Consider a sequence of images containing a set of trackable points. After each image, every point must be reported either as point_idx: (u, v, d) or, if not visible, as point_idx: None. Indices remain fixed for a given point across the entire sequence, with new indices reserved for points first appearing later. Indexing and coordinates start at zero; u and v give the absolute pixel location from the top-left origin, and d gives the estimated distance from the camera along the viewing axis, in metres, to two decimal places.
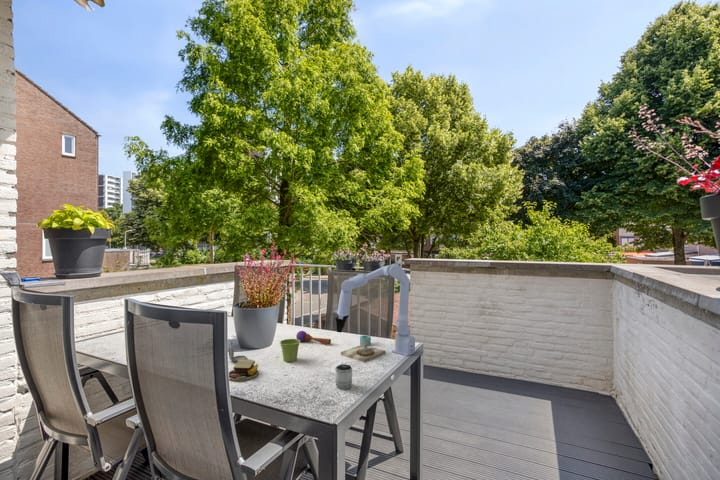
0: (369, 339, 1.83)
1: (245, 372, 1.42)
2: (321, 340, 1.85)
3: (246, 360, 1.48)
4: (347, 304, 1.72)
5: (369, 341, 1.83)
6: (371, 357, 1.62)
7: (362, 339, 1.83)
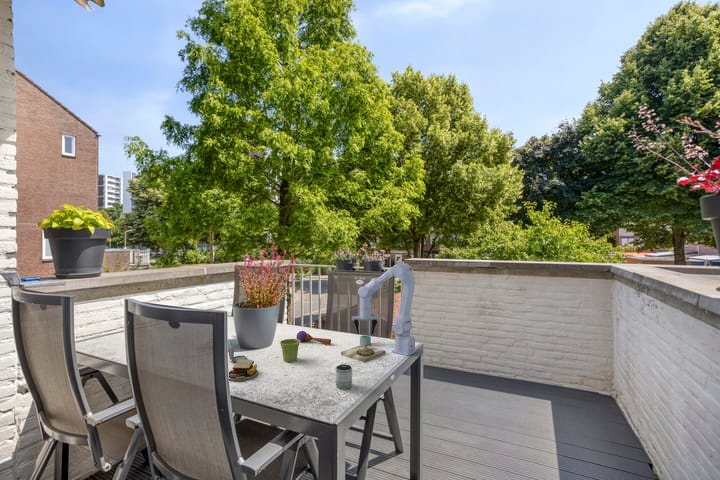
0: (369, 339, 1.83)
1: (244, 372, 1.42)
2: (321, 340, 1.85)
3: (245, 360, 1.48)
4: (365, 309, 1.82)
5: (369, 341, 1.83)
6: (371, 357, 1.62)
7: (362, 339, 1.83)
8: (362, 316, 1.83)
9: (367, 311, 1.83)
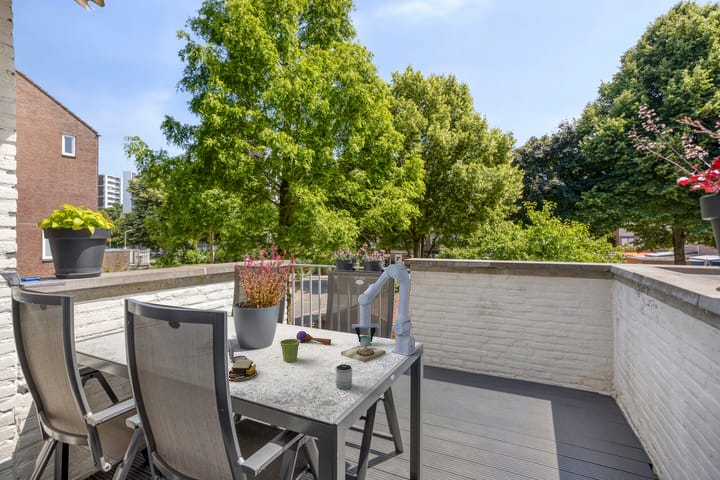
0: (369, 339, 1.83)
1: (243, 372, 1.42)
2: (321, 340, 1.85)
3: (244, 360, 1.48)
4: (365, 317, 1.82)
5: (369, 341, 1.83)
6: (371, 357, 1.62)
7: (362, 339, 1.83)
8: (362, 324, 1.83)
9: (367, 319, 1.83)
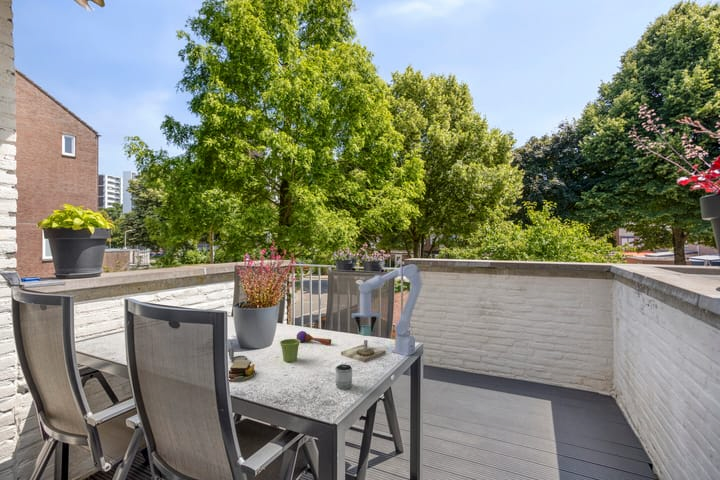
0: (369, 329, 1.77)
1: (242, 372, 1.42)
2: (321, 340, 1.85)
3: (242, 360, 1.47)
4: (367, 305, 1.76)
5: (369, 331, 1.77)
6: (371, 357, 1.62)
7: (362, 329, 1.76)
8: (362, 313, 1.76)
9: (367, 308, 1.76)
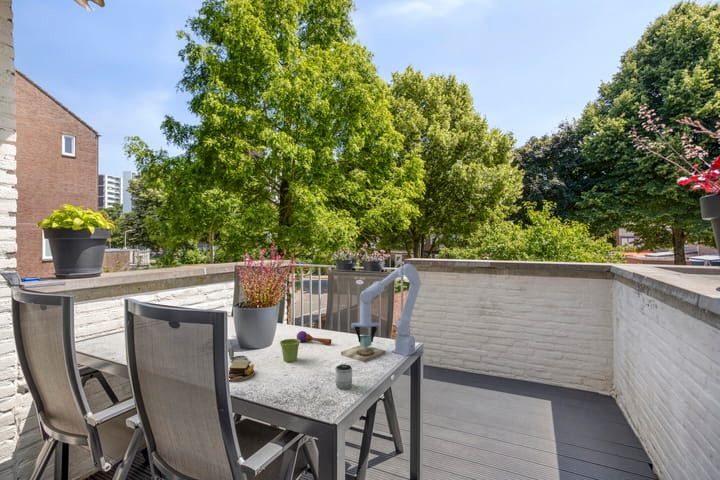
0: (370, 339, 1.71)
1: (241, 372, 1.42)
2: (322, 340, 1.85)
3: (241, 360, 1.47)
4: (369, 315, 1.71)
5: (370, 341, 1.71)
6: (371, 357, 1.62)
7: (362, 339, 1.71)
8: (362, 323, 1.71)
9: (367, 317, 1.71)
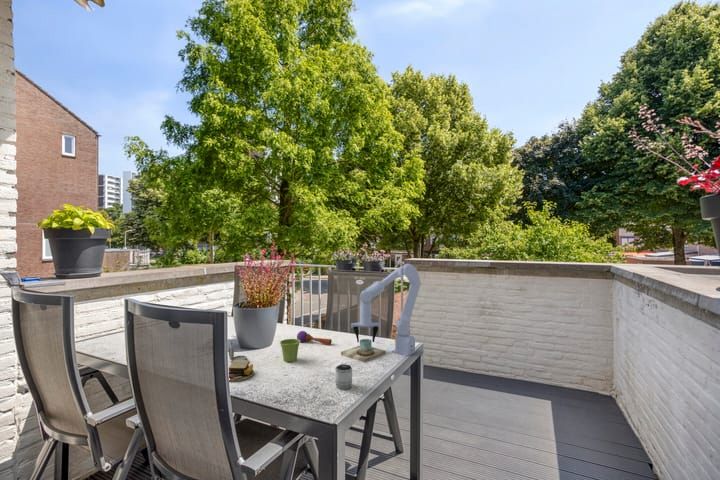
0: (370, 343, 1.71)
1: (241, 372, 1.42)
2: (322, 340, 1.85)
3: (241, 360, 1.47)
4: (369, 315, 1.71)
5: (370, 345, 1.71)
6: (371, 357, 1.62)
7: (362, 343, 1.71)
8: (362, 323, 1.71)
9: (367, 317, 1.71)
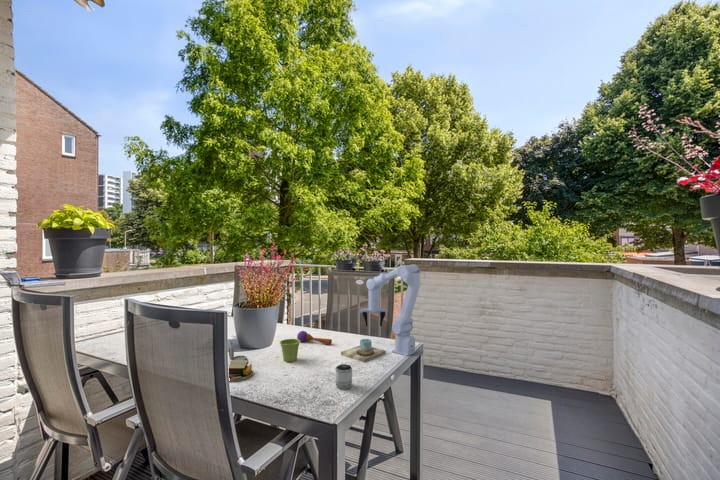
0: (370, 343, 1.71)
1: (239, 372, 1.42)
2: (322, 340, 1.85)
3: (239, 360, 1.47)
4: (373, 301, 1.84)
5: (370, 345, 1.71)
6: (371, 357, 1.62)
7: (362, 343, 1.71)
8: (371, 308, 1.85)
9: (376, 303, 1.84)
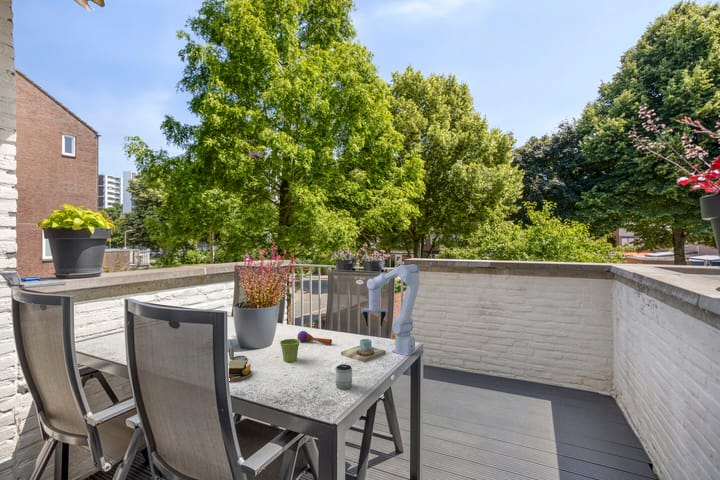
0: (370, 343, 1.71)
1: (238, 372, 1.42)
2: (322, 340, 1.85)
3: (238, 360, 1.47)
4: (373, 301, 1.85)
5: (370, 345, 1.71)
6: (371, 357, 1.62)
7: (362, 343, 1.71)
8: (371, 308, 1.85)
9: (376, 303, 1.85)
